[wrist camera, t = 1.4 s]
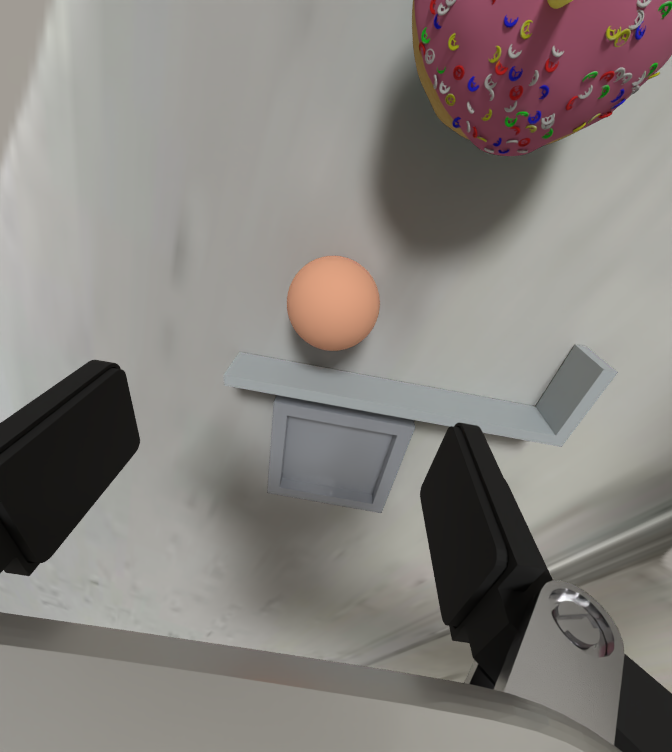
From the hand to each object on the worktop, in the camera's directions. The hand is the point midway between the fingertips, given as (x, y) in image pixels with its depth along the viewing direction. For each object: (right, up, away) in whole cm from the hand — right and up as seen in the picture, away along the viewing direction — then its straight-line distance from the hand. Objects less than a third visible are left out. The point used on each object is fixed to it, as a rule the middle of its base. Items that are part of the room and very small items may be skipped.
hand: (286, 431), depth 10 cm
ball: (+2, +7, +10) cm, 12 cm away
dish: (+1, -4, +17) cm, 18 cm away
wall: (+6, +3, +12) cm, 14 cm away
